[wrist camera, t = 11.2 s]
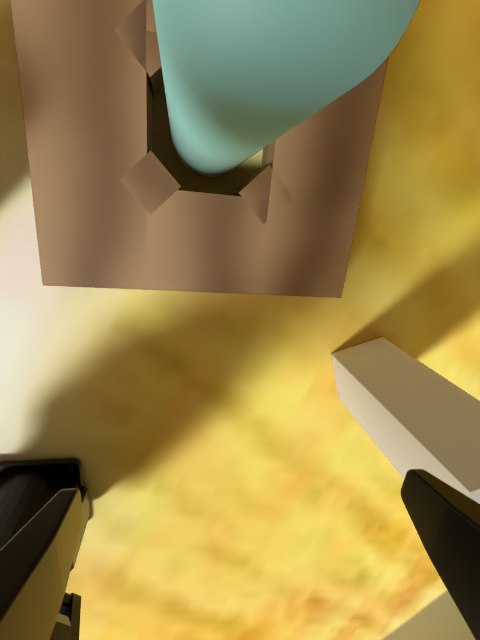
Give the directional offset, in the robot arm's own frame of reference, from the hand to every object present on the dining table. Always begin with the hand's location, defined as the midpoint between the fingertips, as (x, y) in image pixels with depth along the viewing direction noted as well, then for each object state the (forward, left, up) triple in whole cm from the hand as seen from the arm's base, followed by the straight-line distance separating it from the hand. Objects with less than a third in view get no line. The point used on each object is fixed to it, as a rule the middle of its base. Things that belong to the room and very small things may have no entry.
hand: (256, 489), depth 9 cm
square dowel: (+11, -3, -13) cm, 18 cm away
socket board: (-1, +11, -13) cm, 17 cm away
